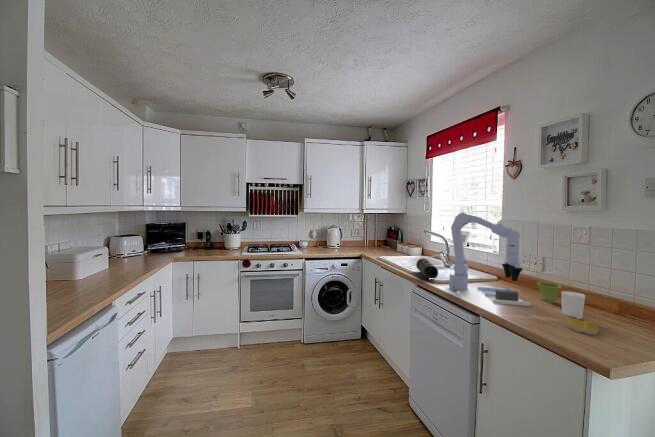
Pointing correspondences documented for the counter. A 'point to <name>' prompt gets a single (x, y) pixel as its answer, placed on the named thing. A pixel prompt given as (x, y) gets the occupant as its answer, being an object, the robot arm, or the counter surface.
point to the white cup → (573, 304)
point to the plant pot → (549, 292)
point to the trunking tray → (491, 293)
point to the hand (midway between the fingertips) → (511, 279)
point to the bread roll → (583, 326)
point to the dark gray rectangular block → (506, 295)
